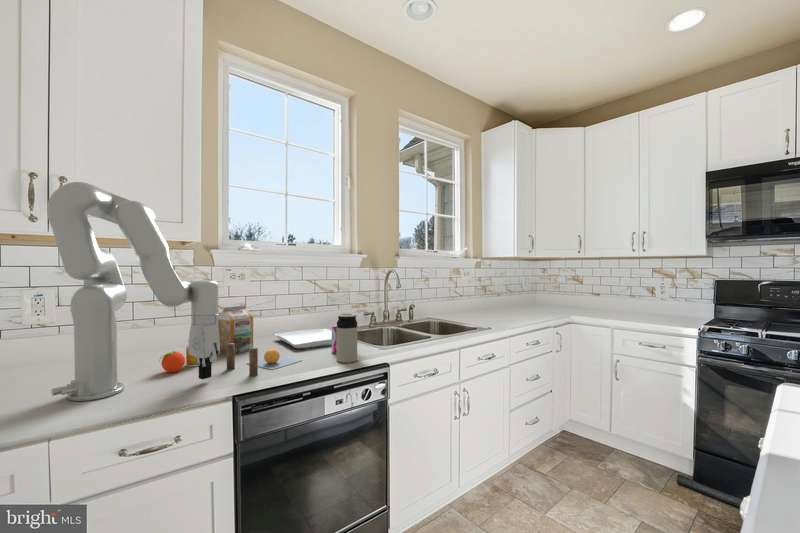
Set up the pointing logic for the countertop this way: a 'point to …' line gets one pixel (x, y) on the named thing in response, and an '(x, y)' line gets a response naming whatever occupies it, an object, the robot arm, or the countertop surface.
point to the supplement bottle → (190, 358)
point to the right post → (253, 361)
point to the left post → (230, 356)
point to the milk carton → (235, 328)
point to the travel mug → (346, 337)
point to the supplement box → (334, 339)
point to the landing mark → (277, 363)
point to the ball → (271, 356)
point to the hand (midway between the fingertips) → (205, 377)
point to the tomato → (172, 361)
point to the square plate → (307, 338)
